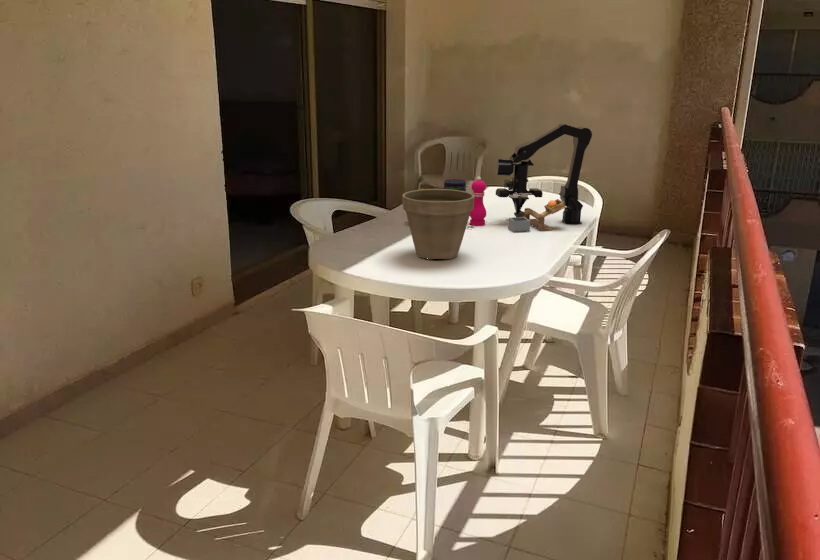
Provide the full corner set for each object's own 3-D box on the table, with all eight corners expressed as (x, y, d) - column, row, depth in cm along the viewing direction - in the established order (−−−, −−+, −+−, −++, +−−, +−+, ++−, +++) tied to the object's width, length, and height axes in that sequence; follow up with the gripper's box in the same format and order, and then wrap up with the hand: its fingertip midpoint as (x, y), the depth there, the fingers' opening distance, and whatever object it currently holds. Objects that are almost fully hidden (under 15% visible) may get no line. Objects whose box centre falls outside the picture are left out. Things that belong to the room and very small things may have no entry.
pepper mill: (485, 226, 274) (487, 178, 268) (467, 225, 275) (469, 177, 269) (486, 222, 281) (488, 175, 274) (469, 221, 282) (471, 174, 276)
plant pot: (431, 241, 252) (432, 184, 245) (486, 253, 237) (488, 193, 230) (387, 256, 233) (387, 195, 226) (444, 269, 218) (445, 205, 212)
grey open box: (523, 227, 272) (524, 216, 271) (529, 231, 266) (530, 220, 265) (508, 228, 271) (508, 217, 270) (513, 232, 265) (514, 221, 263)
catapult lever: (550, 199, 281) (547, 194, 280) (565, 207, 266) (563, 202, 265) (515, 217, 281) (513, 212, 280) (529, 226, 266) (527, 221, 265)
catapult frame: (535, 220, 284) (536, 207, 283) (552, 230, 268) (553, 217, 266) (523, 221, 283) (524, 208, 282) (539, 231, 267) (540, 217, 265)
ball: (556, 202, 270) (549, 197, 269) (559, 204, 267) (553, 199, 265) (551, 209, 270) (544, 205, 269) (554, 211, 267) (548, 206, 266)
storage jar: (465, 212, 299) (466, 179, 294) (465, 217, 290) (466, 183, 285) (443, 211, 300) (444, 179, 295) (442, 216, 291) (443, 182, 286)
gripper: (534, 173, 282) (531, 209, 287) (492, 172, 279) (490, 209, 284) (544, 177, 272) (541, 214, 277) (501, 177, 268) (498, 215, 273)
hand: (517, 213), depth 278 cm, fingers closed
